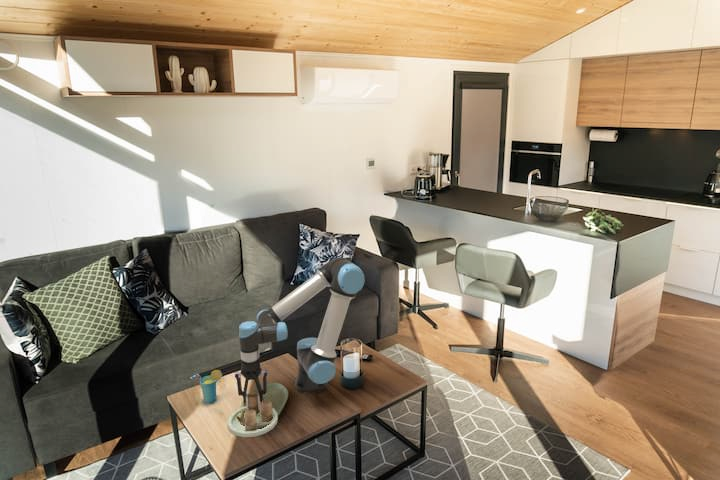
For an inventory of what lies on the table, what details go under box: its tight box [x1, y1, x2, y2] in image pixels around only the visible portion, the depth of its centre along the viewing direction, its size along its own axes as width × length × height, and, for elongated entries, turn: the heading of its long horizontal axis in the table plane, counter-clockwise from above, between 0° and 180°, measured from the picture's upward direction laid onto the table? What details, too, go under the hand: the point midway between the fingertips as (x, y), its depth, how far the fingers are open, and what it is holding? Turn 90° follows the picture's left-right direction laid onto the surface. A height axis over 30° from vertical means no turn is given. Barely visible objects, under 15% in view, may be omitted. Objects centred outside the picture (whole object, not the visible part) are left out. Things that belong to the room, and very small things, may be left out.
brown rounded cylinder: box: [260, 400, 273, 422], centre depth 204 cm, size 5×5×8 cm
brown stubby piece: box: [247, 392, 260, 415], centre depth 209 cm, size 5×5×8 cm
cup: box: [189, 369, 223, 405], centre depth 219 cm, size 14×8×15 cm, turn 128°
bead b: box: [244, 410, 257, 431], centre depth 198 cm, size 5×5×8 cm
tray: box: [227, 405, 279, 438], centre depth 204 cm, size 20×20×2 cm
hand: (253, 408), depth 209 cm, fingers closed on brown stubby piece, 4 cm apart
